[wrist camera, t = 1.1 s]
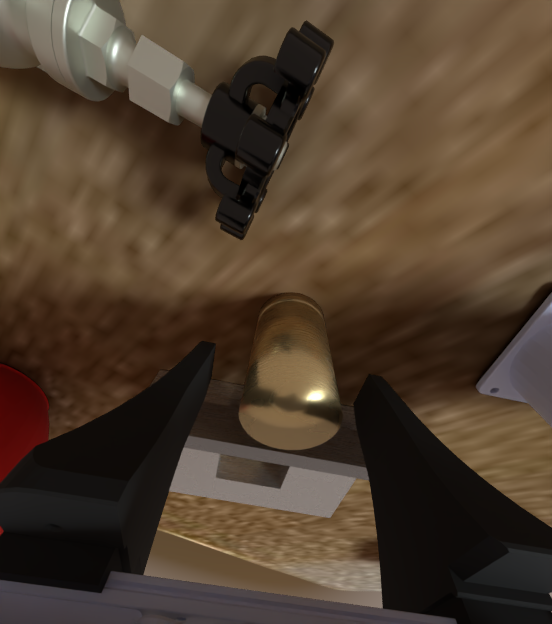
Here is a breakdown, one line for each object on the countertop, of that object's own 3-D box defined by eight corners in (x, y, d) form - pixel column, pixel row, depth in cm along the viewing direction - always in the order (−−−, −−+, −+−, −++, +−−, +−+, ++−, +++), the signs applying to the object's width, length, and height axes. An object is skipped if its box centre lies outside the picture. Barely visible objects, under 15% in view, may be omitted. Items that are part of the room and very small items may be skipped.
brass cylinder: (333, 300, 16) (358, 392, 10) (313, 354, 18) (324, 457, 12) (264, 286, 15) (247, 369, 9) (252, 341, 17) (231, 440, 11)
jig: (376, 411, 20) (397, 473, 16) (327, 493, 26) (333, 553, 22) (159, 369, 19) (125, 424, 15) (160, 464, 25) (136, 522, 21)
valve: (-1, 85, 11) (253, 223, 14) (-292, 14, 6) (225, 270, 8) (-3, -156, 8) (323, 72, 11) (-626, -819, 3) (359, -24, 5)
